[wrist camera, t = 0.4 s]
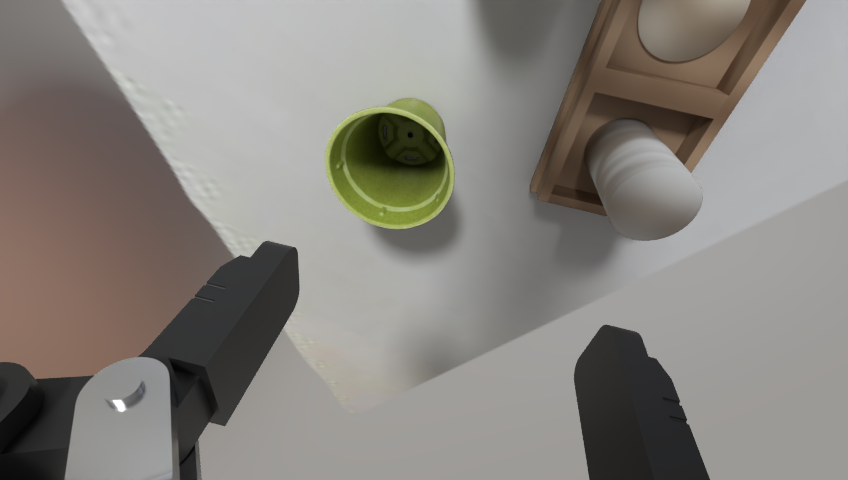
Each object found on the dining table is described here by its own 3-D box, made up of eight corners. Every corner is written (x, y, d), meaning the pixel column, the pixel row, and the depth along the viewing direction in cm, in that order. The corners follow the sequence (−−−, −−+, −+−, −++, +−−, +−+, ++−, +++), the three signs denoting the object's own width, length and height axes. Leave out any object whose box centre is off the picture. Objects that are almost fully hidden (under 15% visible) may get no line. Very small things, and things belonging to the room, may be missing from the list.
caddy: (647, -118, 23) (728, -163, 15) (830, -80, 22) (1015, -104, 14) (529, 185, 35) (537, 252, 27) (645, 212, 35) (689, 288, 27)
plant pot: (353, 76, 32) (312, 107, 25) (465, 75, 31) (454, 108, 24) (367, 177, 38) (336, 225, 31) (463, 181, 36) (453, 233, 29)
